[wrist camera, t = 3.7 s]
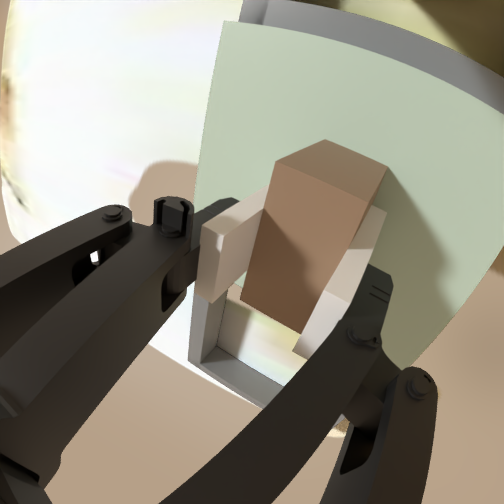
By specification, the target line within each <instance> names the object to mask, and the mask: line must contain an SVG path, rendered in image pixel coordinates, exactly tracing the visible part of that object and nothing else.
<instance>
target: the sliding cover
mask: <svg viewBox="0 0 504 504" xmlns="http://www.w3.org/2000/svg"><path fill="white" fill-rule="evenodd" d="M268 184H269V188H268V192H267V196H266V200H265V203H264V207H263V212H262V216H261V220H260V224H259V227H258V231H257V235H256V239H255V243H254V247H253V251H252V255H251V258H250V262H249V266H248V270H247V271H246V272H245V273H244V274H243V275H242V276H241V277H240V278H239V279H238V280H236V281H235V282H234V283H235V284H236V285H238V286H240V287H242V292H241V297H240V300H242V301H243V302H245V303H247V304H249V305H250V306H252V307H254V308H255V309H257V310H259V311H260V312H262V313H264V314H266V315H267V316H269V317H271V318H273V319H274V320H276V321H278V322H280V323H281V324H283V325H285V326H287V327H289V328H290V329H292V330H294V331H296V332H297V333H299V334H302V332H303V330H304V328H305V326H306V324H307V322H308V320H309V318H310V316H311V314H312V312H313V310H314V308H315V306H316V304H317V302H318V300H319V298H320V296H321V294H322V292H323V290H324V289H325V287H326V285H327V283H328V282H329V280H330V278H331V277H332V275H333V273H334V272H335V270H336V268H337V267H338V265H339V263H340V261H341V260H342V258H343V256H344V254H345V253H346V251H347V249H348V248H349V246H350V244H351V243H352V241H353V239H354V237H355V235H356V233H357V232H358V230H359V228H360V226H361V224H362V222H363V220H364V219H365V217H366V215H367V213H368V211H369V209H370V207H371V205H373V206H375V207H377V208H379V209H381V210H383V211H385V212H387V215H386V217H385V220H384V223H383V226H382V228H381V231H380V234H379V236H378V239H377V241H376V244H375V247H374V249H373V252H372V254H371V257H370V259H369V262H368V263H369V264H370V265H372V266H374V267H376V268H378V269H380V270H382V271H384V272H386V273H387V274H389V275H391V278H392V281H393V285H394V287H393V291H392V295H391V299H390V302H389V306H388V310H387V313H386V317H385V320H384V324H383V327H382V330H381V338H382V348H383V350H384V352H385V354H386V355H387V357H388V358H389V359H390V360H391V361H392V362H393V363H394V364H395V365H397V366H398V367H399V368H400V369H401V370H403V369H405V368H407V367H409V366H410V365H411V364H412V363H413V362H414V361H415V360H416V359H417V358H418V357H419V356H420V355H421V354H422V352H424V350H425V349H426V348H427V347H428V346H429V345H430V344H431V343H432V342H433V341H434V339H435V338H436V337H437V336H438V335H439V334H440V332H441V331H442V330H443V329H444V328H445V326H446V325H447V324H448V323H449V322H450V320H451V319H452V318H453V317H454V316H455V314H456V313H457V312H458V311H459V309H460V308H461V307H462V305H463V304H464V303H465V301H466V300H467V299H468V297H469V296H470V294H471V293H472V292H473V291H474V289H475V288H476V287H477V285H478V283H479V282H480V281H481V279H482V278H483V277H484V275H485V274H486V272H487V271H488V269H489V268H490V266H491V265H492V263H493V262H494V260H495V259H496V257H497V256H498V254H499V252H500V251H501V249H502V247H503V246H504V115H503V114H502V113H500V112H499V111H497V110H495V109H494V108H492V107H490V106H489V105H487V104H485V103H484V102H482V101H480V100H479V99H477V98H475V97H473V96H472V95H470V94H468V93H466V92H464V91H462V90H460V89H459V88H457V87H455V86H453V85H451V84H449V83H447V82H445V81H443V80H441V79H439V78H436V77H434V76H432V75H430V74H428V73H426V72H423V71H421V70H419V69H416V68H414V67H412V66H409V65H407V64H404V63H402V62H399V61H397V60H394V59H391V58H389V57H386V56H383V55H380V54H378V53H375V52H372V51H369V50H366V49H363V48H359V47H356V46H353V45H350V44H346V43H343V42H339V41H336V40H332V39H328V38H324V37H320V36H316V35H312V34H307V33H303V32H298V31H293V30H288V29H282V28H277V27H271V26H264V25H257V24H250V23H242V22H232V21H224V23H223V28H222V32H221V37H220V42H219V47H218V51H217V56H216V61H215V67H214V72H213V77H212V82H211V88H210V94H209V99H208V105H207V111H206V117H205V123H204V129H203V136H202V143H201V149H200V156H199V163H198V171H197V178H196V186H195V194H194V202H193V205H194V210H195V211H194V214H195V213H196V212H198V211H200V210H202V209H204V208H205V207H207V206H209V205H211V204H212V203H214V202H216V201H217V200H219V199H224V198H229V197H232V198H235V199H237V200H239V201H241V200H243V199H245V198H246V197H248V196H250V195H251V194H253V193H255V192H256V191H258V190H260V189H261V188H263V187H265V186H266V185H268Z"/></svg>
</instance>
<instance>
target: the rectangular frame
mask: <svg viewBox="0 0 504 504" xmlns="http://www.w3.org/2000/svg"><path fill="white" fill-rule="evenodd" d="M295 1H296V0H243V4H242V8H241V12H240V17H239V21H238V22H242V23H250V24H257V25H264V26H271V27H277V28H282V29H288V30H293V31H298V32H303V33H307V34H312V35H316V36H320V37H324V38H328V39H332V40H336V41H339V42H343V43H346V44H350V45H353V46H356V47H359V48H363V49H366V50H369V51H372V52H375V53H378V54H380V55H383V56H386V57H389V58H391V59H394V60H397V61H399V62H402V63H404V64H407V65H409V66H412V67H414V68H416V69H419V70H421V71H423V72H426V73H428V74H430V75H432V76H434V77H436V78H439V79H441V80H443V81H445V82H447V83H449V84H451V85H453V86H455V87H457V88H459V89H460V90H462V91H464V92H466V93H468V94H470V95H472V96H473V97H475V98H477V99H479V100H480V101H482V102H484V103H485V104H487V105H489V106H490V107H492V108H494V109H495V110H497V111H499V112H500V113H502V114H503V115H504V77H502V76H500V75H499V74H497V73H495V72H494V71H492V70H490V69H489V68H487V67H485V66H483V65H481V64H480V63H478V62H476V61H474V60H472V59H470V58H468V57H466V56H465V55H463V54H461V53H459V52H456V51H454V50H452V49H450V48H448V47H446V46H444V45H442V44H439V43H437V42H435V41H432V40H430V39H428V38H425V37H423V36H420V35H418V34H415V33H413V32H410V31H407V30H405V29H402V28H399V27H396V26H393V25H390V24H387V23H384V22H381V21H378V20H375V19H371V18H368V17H364V16H361V15H357V14H353V13H350V12H346V11H341V10H337V9H333V8H328V7H323V6H318V5H313V4H308V3H302V2H295ZM227 292H228V289H227V290H226V291H225V292H224V293H223V294H222V295H221V296H220V297H219V298H218V299H217V300H215V301H214V302H213V303H210V302H208V301H207V300H205V299H204V298H202V297H200V296H199V295H197V294H196V293H194V297H193V306H192V317H191V327H190V339H189V351H188V361H189V362H190V363H192V364H193V365H195V366H196V367H198V368H199V369H200V370H202V371H203V372H205V373H206V374H208V375H209V376H211V377H212V378H214V379H215V380H217V381H218V382H220V383H221V384H223V385H225V386H226V387H228V388H229V389H231V390H232V391H234V392H236V393H237V394H239V395H240V396H242V397H244V398H245V399H247V400H249V401H250V402H252V403H254V404H255V405H257V406H259V407H260V408H262V409H264V408H265V407H266V406H267V405H268V404H269V403H270V401H271V400H272V399H273V398H274V397H275V396H276V395H277V394H278V393H279V392H280V391H281V390H282V389H283V388H284V387H283V386H281V385H280V384H278V383H276V382H274V381H273V380H271V379H269V378H268V377H266V376H264V375H262V374H261V373H259V372H257V371H256V370H254V369H252V368H251V367H249V366H247V365H246V364H244V363H243V362H241V361H239V360H238V359H236V358H235V357H233V356H231V355H230V354H228V353H227V352H225V351H223V350H222V349H220V348H219V347H217V346H216V345H217V340H218V335H219V330H220V325H221V321H222V316H223V311H224V306H225V302H226V297H227ZM344 418H346V417H345V416H344V415H343V414H341V416H340V417H339V418H338V420H337V421H336V423H335V424H334V426H333V427H332V428H334V427H335V426H336V425H337V424H338V423H340V422H341V421H342V420H343V419H344Z"/></svg>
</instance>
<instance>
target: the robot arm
mask: <svg viewBox="0 0 504 504" xmlns="http://www.w3.org/2000/svg"><path fill="white" fill-rule="evenodd" d="M268 188H269V184H268V185H266V186H265V187H263V188H261V189H260V190H258V191H256V192H255V193H253V194H251V195H250V196H248V197H246V198H245V199H243V200H241V201H239V200H237V199H235V198H232V197H229V198H224V199H219V200H217V201H216V202H214V203H212V204H211V205H209V206H207V207H205V208H204V209H202V210H200V211H198V212H196V213H195V214H194V211H195V210H194V205H193V204H192V203H191V202H190V201H188V200H186V199H183V198H179V197H170V196H167V197H161V198H159V199H156V200H154V220H153V224H152V225H151V226H145V225H142V224H139V223H135V222H132V211H131V210H130V209H129V208H127V207H125V206H122V205H108V206H104V207H101V208H99V209H97V210H94V211H92V212H90V213H87V214H85V215H83V216H80V217H78V218H76V219H74V220H71V221H69V222H67V223H65V224H63V225H60V226H58V227H56V228H54V229H52V230H50V231H48V232H45V233H43V234H41V235H39V236H37V237H35V238H33V239H31V240H29V241H27V242H25V243H23V244H21V245H19V246H17V247H15V248H13V249H11V250H10V251H8V252H6V253H4V254H2V255H0V504H52V502H51V501H50V499H49V498H48V496H47V494H46V492H45V491H44V488H45V487H46V486H47V484H48V483H49V482H50V480H51V479H52V478H53V476H54V475H55V474H56V472H57V470H58V469H59V466H60V463H61V462H60V461H61V454H62V452H63V450H64V448H65V447H66V446H67V444H68V443H69V442H70V441H71V439H72V438H73V437H74V435H75V434H76V433H77V432H78V430H79V429H80V428H81V426H82V425H83V424H84V422H85V421H86V420H87V419H88V417H89V416H90V415H91V414H92V412H93V411H94V410H95V409H96V407H97V406H98V405H99V403H100V402H101V401H102V400H103V398H104V397H105V396H106V395H107V393H108V392H109V391H110V390H111V388H112V387H113V386H114V384H115V383H116V382H117V381H118V380H119V378H120V377H121V376H122V375H123V373H124V372H125V371H126V370H127V368H128V367H129V366H130V365H131V363H132V362H133V361H134V359H135V358H136V357H137V356H138V355H139V353H140V352H141V351H142V350H143V349H144V347H145V346H146V345H147V344H148V342H149V341H150V340H151V339H152V338H153V336H154V335H155V334H156V333H157V331H158V330H159V329H160V328H161V327H162V325H163V324H164V323H165V322H166V321H167V319H168V318H169V317H170V316H171V314H172V313H173V312H174V311H175V310H176V308H177V307H178V306H179V305H180V304H181V302H182V301H183V300H184V298H185V296H186V293H187V287H188V286H189V285H190V284H192V283H193V282H194V281H195V287H194V293H196V294H197V295H199V296H200V297H202V298H204V299H205V300H207V301H208V302H210V303H213V302H214V301H215V300H217V299H218V298H219V297H220V296H221V295H222V294H223V293H224V292H225V291H226V290H227V289H228V288H229V287H230V286H231V285H232V284H233V283H234V282H235V281H236V280H238V279H239V278H240V277H241V276H242V275H243V274H244V273H245V272H246V271H247V270H248V266H249V262H250V258H251V255H252V251H253V247H254V243H255V239H256V235H257V231H258V227H259V224H260V220H261V216H262V212H263V207H264V203H265V200H266V196H267V192H268ZM386 215H387V212H385V211H383V210H381V209H379V208H377V207H375V206H373V205H371V207H370V209H369V211H368V213H367V215H366V217H365V219H364V220H363V222H362V224H361V226H360V228H359V230H358V232H357V233H356V235H355V237H354V239H353V241H352V243H351V244H350V246H349V248H348V249H347V251H346V253H345V254H344V256H343V258H342V260H341V261H340V263H339V265H338V267H337V268H336V270H335V272H334V273H333V275H332V277H331V278H330V280H329V282H328V283H327V285H326V287H325V289H324V290H323V292H322V294H321V296H320V298H319V300H318V302H317V304H316V306H315V308H314V310H313V312H312V314H311V316H310V318H309V320H308V322H307V324H306V326H305V328H304V330H303V332H302V334H301V336H300V337H299V339H298V341H297V343H296V345H295V347H294V349H293V352H294V353H296V354H298V355H300V356H302V357H303V358H305V359H307V362H306V363H305V364H304V365H303V366H302V367H301V369H300V370H299V371H298V372H297V373H296V374H295V375H294V376H293V378H292V379H291V380H290V381H289V382H288V383H287V384H286V385H285V386H284V388H283V389H282V390H281V391H280V392H279V393H278V394H277V395H276V396H275V397H274V398H273V399H272V400H271V401H270V403H269V404H268V405H267V406H266V407H265V408H264V409H263V410H262V411H261V412H260V413H259V414H258V415H257V416H256V417H255V418H254V419H253V420H252V421H251V422H250V423H249V424H248V425H247V426H246V427H245V428H244V429H243V430H242V431H241V432H240V433H239V434H238V435H237V436H236V437H235V438H234V439H233V440H232V441H231V442H230V443H229V444H228V445H226V446H225V447H224V448H223V449H222V450H221V451H220V452H219V453H218V454H217V455H216V456H214V457H213V458H212V459H211V460H210V461H209V462H208V463H207V464H206V465H204V466H203V467H202V468H201V469H200V470H199V471H198V472H196V473H195V474H194V475H193V476H192V477H191V478H189V479H188V480H187V481H186V482H185V483H183V484H182V485H181V486H180V487H179V488H177V489H176V490H175V491H174V492H173V493H171V494H170V495H169V496H168V497H166V498H165V499H164V500H162V501H161V502H160V503H159V504H271V503H272V502H273V501H274V500H275V499H276V498H277V497H278V496H279V495H280V493H281V492H282V491H283V490H284V489H285V488H286V487H287V485H288V484H289V483H290V482H291V481H292V479H293V478H294V477H295V476H296V475H297V473H298V472H299V471H300V470H301V468H302V467H303V466H304V465H305V463H306V462H307V461H308V460H309V458H310V457H311V456H312V454H313V453H314V452H315V450H316V449H317V448H318V447H319V445H320V444H321V442H322V441H323V440H324V438H325V437H326V436H327V434H328V433H329V431H330V430H331V429H332V427H333V426H334V424H335V423H336V421H337V420H338V418H339V417H340V416H341V414H343V415H344V416H345V417H346V418H347V419H348V420H349V421H350V423H349V426H348V430H347V433H346V436H345V439H344V442H343V444H342V447H341V450H340V453H339V456H338V459H337V461H336V464H335V467H334V469H333V472H332V474H331V477H330V479H329V482H328V485H327V487H326V489H325V492H324V494H323V497H322V499H321V501H320V504H421V502H422V498H423V493H424V489H425V485H426V480H427V475H428V470H429V464H430V459H431V453H432V446H433V438H434V431H435V421H436V412H437V400H438V393H437V386H436V384H435V382H434V380H433V378H432V377H431V376H430V375H429V374H428V373H427V372H426V371H424V370H422V369H421V368H417V367H413V366H412V367H407V368H405V369H403V370H401V369H400V368H399V367H398V366H397V365H395V364H394V363H393V362H392V361H391V360H390V359H389V358H388V357H387V355H386V354H385V352H384V350H383V348H382V338H381V330H382V327H383V324H384V320H385V317H386V313H387V310H388V306H389V302H390V299H391V295H392V291H393V287H394V285H393V281H392V278H391V275H389V274H387V273H386V272H384V271H382V270H380V269H378V268H376V267H374V266H372V265H370V264H369V263H368V262H369V259H370V257H371V254H372V252H373V249H374V247H375V244H376V241H377V239H378V236H379V234H380V231H381V228H382V226H383V223H384V220H385V217H386ZM95 251H97V253H98V260H99V261H97V262H91V257H90V254H91V253H93V252H95Z"/></svg>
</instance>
